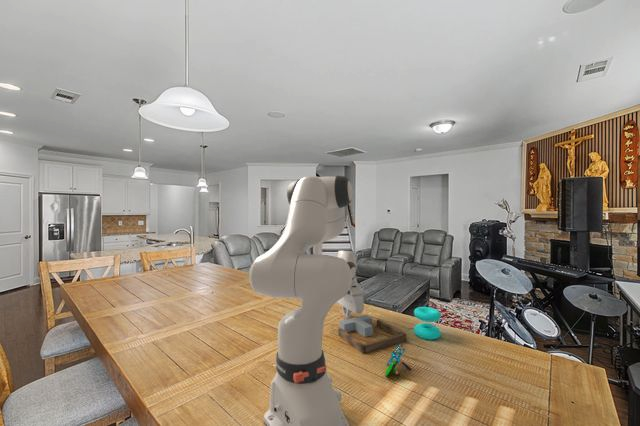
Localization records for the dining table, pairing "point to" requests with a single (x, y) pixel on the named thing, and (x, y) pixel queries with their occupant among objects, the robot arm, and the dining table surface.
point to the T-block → (358, 325)
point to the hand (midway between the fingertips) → (346, 316)
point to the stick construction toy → (397, 360)
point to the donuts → (424, 328)
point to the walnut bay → (377, 344)
